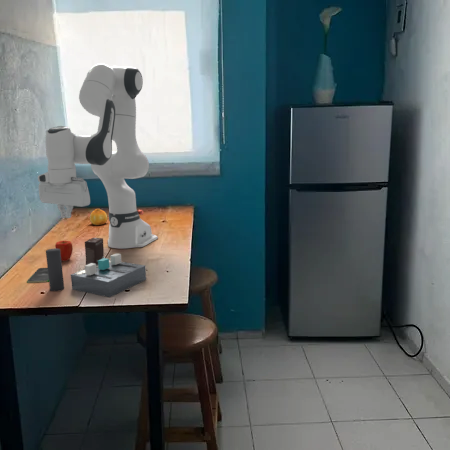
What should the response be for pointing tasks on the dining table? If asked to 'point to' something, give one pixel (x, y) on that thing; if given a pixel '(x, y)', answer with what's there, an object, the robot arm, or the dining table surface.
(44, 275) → the smartphone
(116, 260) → the slider
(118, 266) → the panel
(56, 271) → the post
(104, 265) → the slider mid
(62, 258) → the apple
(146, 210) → the dining table surface
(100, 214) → the fruit
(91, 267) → the slider
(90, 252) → the box
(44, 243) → the dining table surface
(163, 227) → the dining table surface
